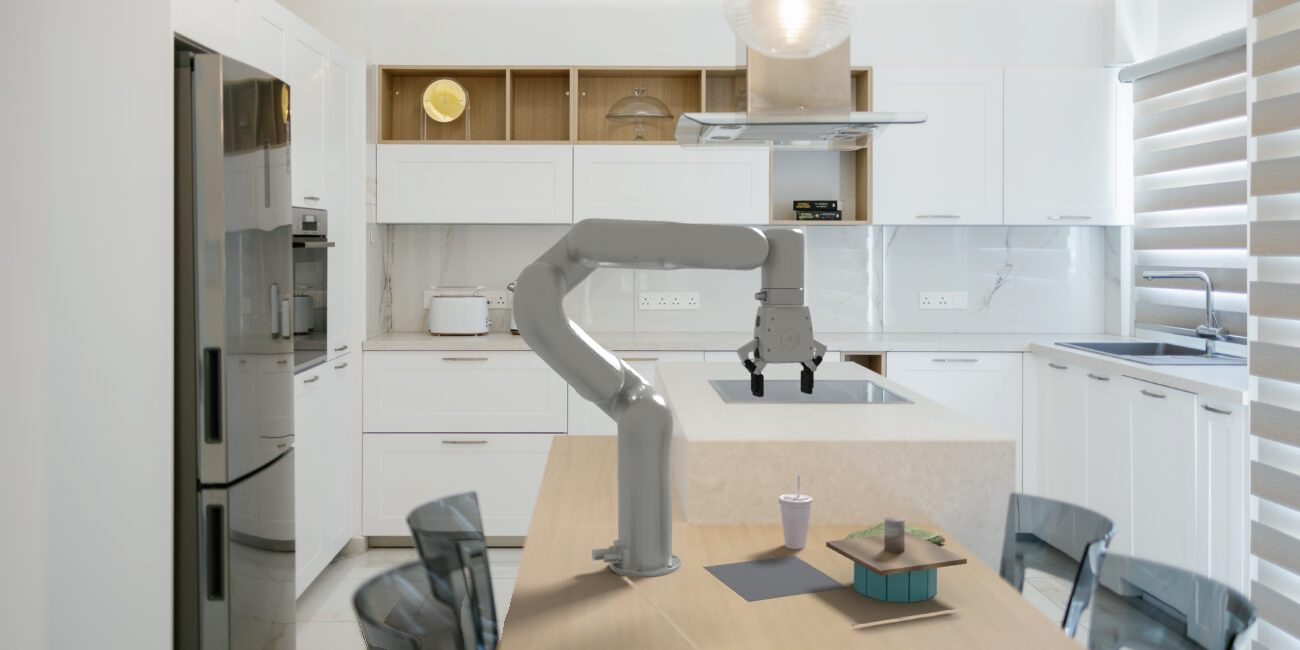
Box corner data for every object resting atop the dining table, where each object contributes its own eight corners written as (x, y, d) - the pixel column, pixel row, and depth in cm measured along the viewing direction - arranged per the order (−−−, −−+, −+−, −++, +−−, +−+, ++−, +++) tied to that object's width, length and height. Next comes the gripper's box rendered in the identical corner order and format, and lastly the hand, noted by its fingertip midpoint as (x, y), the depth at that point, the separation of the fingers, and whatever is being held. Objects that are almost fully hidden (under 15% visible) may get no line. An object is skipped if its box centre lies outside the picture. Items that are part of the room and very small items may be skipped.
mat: (748, 604, 149) (748, 601, 149) (703, 569, 166) (703, 567, 166) (847, 590, 155) (847, 587, 155) (794, 557, 172) (794, 555, 172)
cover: (880, 575, 144) (880, 538, 144) (826, 546, 159) (826, 512, 159) (966, 563, 150) (967, 527, 149) (906, 536, 165) (906, 503, 164)
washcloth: (948, 545, 180) (948, 529, 180) (897, 566, 168) (897, 548, 168) (889, 531, 190) (889, 516, 190) (836, 550, 178) (837, 533, 178)
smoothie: (812, 554, 174) (812, 479, 173) (777, 552, 175) (777, 478, 174) (813, 544, 180) (813, 471, 179) (779, 542, 182) (779, 470, 181)
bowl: (883, 609, 147) (883, 571, 146) (838, 582, 159) (839, 547, 158) (952, 598, 151) (953, 561, 151) (904, 573, 163) (904, 539, 163)
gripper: (747, 300, 160) (747, 400, 162) (836, 298, 166) (835, 394, 168) (729, 298, 168) (729, 394, 169) (814, 296, 173) (814, 389, 175)
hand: (782, 394), depth 168 cm, fingers open, 9 cm apart
